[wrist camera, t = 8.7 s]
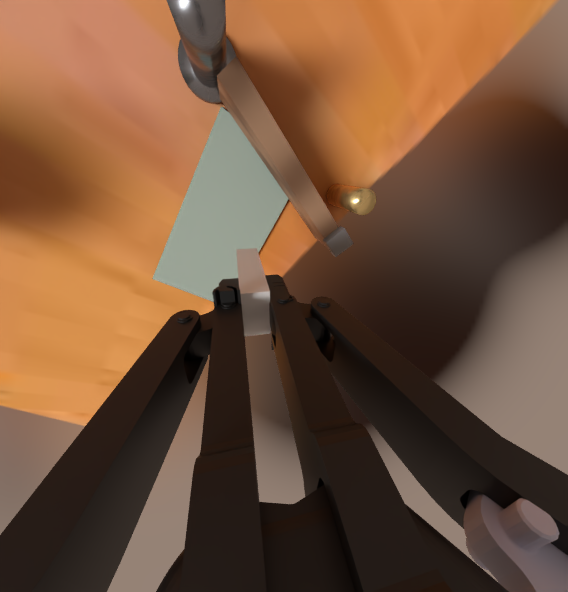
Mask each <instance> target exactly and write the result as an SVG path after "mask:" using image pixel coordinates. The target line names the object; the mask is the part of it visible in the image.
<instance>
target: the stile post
mask: <svg viewBox="0 0 568 592" xmlns="http://www.w3.org/2000/svg"><path fill="white" fill-rule="evenodd" d="M327 201H328V202H329V203H330V204H331V205H334V206H336V207H339V208H342V209H345V210H348V211H350V212H353V213H356V214H359V215H366V214H368V213H370V212H371V211H372V209H373V208H374V206H375V203H376V195H375V193H374V191H372V190H371V189H367V188H360V187H353V186H347V185H340V184H335V185H333V186H331V187H330V188H329V190H328V192H327Z"/></svg>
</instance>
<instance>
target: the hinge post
mask: <svg viewBox="0 0 568 592" xmlns="http://www.w3.org/2000/svg"><path fill="white" fill-rule="evenodd" d="M167 2H168V5H169V8H170V10H171V13H172V16H173V18H174V21H175V24H176V26H177V29H178V32H179V34H180V37H181V39H180V43H179V48H178V61H179V66H180V70H181V73H182V75H183V78H184V80H185V82H186V84H187V85H188V87H189V88H190V89H191V91H192V92H193V93H194V94H195V95H196V96H197V97H198V98H200V99H202V100H203V101H205V102H208V103H213V104H217V103H221V102H222V101H221V100H220V96H219V88H218V81H217V75H218V74H219V73H220V72H221V71H222V70H223V69H224V68H225V67H226V66H227V65H228V64H229V63H230V62H231V61H232V60H233V59H234V58H235V57H236V54H235V51H234V49H233V47H232V45H231V43H230V41H229V40H228V38H227V37H226V15H225V0H167Z"/></svg>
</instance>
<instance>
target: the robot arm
mask: <svg viewBox="0 0 568 592" xmlns="http://www.w3.org/2000/svg"><path fill="white" fill-rule="evenodd" d="M236 253H237V266H238V278H232V279H222V280H221V282H220V283H219V287H216V288H215V289H214V290H213V292H212V294H213V300H214V306H215V308H214V310H213V311H211V312H209V313H206V314H203V315H199V313H198V312H196V311H194V310H184V311H180V312H178V313H176V314H174V315H173V316H171V317H170V319H169V320H168V321H167V322H166V324H165V325H164V326H163V328H162V329H161V330H160V331H159V333H158V334H157V335H156V337H155V338H154V339H153V340H152V342H151V343H150V344H149V345H148V347H147V348H146V349H145V351H144V352H143V353H142V354H141V356H140V357H139V358H138V360H137V361H136V362H135V363H134V365H133V366H132V367H131V369H130V370H129V371H128V372H127V374H126V375H125V376H124V377H123V379H122V380H121V381H120V383H119V384H118V385H117V386H116V388H115V389H114V390H113V392H112V393H111V394H110V395H109V397H108V398H107V399H106V400H105V402H104V403H103V404H102V406H101V407H100V408H99V409H98V411H97V412H96V413H95V415H94V416H93V417H92V418H91V420H90V421H89V422H88V424H87V425H86V426H85V427H84V429H83V430H82V431H81V432H80V434H79V435H78V436H77V438H76V439H75V440H74V441H73V443H72V444H71V445H70V447H69V448H68V449H67V450H66V452H65V453H64V454H63V456H62V457H61V458H60V459H59V461H58V462H57V463H56V464H55V466H54V467H53V468H52V470H51V471H50V472H49V474H48V475H47V476H46V477H45V479H44V480H43V481H42V483H41V484H40V485H39V486H38V488H37V489H36V490H35V491H34V493H33V494H32V495H31V497H30V498H29V499H28V500H27V502H26V503H25V504H24V505H23V507H22V508H21V510H20V511H19V512H18V513H17V514H16V516H15V517H14V518H13V519H12V521H11V522H10V523H9V525H8V526H7V527H6V529H5V530H4V531H3V532H2V534H1V535H0V592H107V590H108V588H109V586H110V583H111V581H112V579H113V577H114V575H115V572H116V570H117V568H118V566H119V564H120V562H121V559H122V557H123V555H124V553H125V550H126V548H127V545H128V543H129V541H130V538H131V536H132V534H133V531H134V529H135V527H136V525H137V522H138V520H139V518H140V515H141V513H142V511H143V508H144V506H145V504H146V501H147V499H148V497H149V494H150V492H151V490H152V487H153V485H154V483H155V480H156V478H157V476H158V473H159V471H160V469H161V466H162V464H163V462H164V459H165V457H166V454H167V452H168V450H169V448H170V445H171V443H172V441H173V439H174V436H175V434H176V431H177V429H178V427H179V424H180V422H181V420H182V418H183V415H184V413H185V411H186V408H187V406H188V403H189V401H190V399H191V397H192V394H193V392H194V389H195V387H196V385H197V382H198V380H199V378H200V375H201V373H202V371H203V369H204V366H205V364H206V362H207V359H208V355H210V360H209V371H208V381H207V392H206V402H205V413H204V423H203V434H202V444H201V452H200V455H199V456H198V457H197V458H196V462H195V465H194V471H193V478H192V488H191V496H190V505H189V513H188V522H187V531H186V541H185V549H184V550H183V551H182V553H181V554H180V555H179V556H178V558H177V559H176V561H175V562H174V563H173V565H172V566H171V568H170V569H169V571H168V572H167V574H166V576H165V577H164V579H163V581H162V582H161V584H160V586H159V587H158V589H157V591H156V592H568V475H567V474H565V473H563V472H562V471H560V470H558V469H556V468H555V467H553V466H551V465H550V464H548V463H546V462H544V461H543V460H541V459H539V458H537V457H535V456H534V455H532V454H530V453H529V452H527V451H525V450H524V449H522V448H520V447H518V446H516V445H515V444H513V443H512V442H510V441H508V440H506V439H505V438H503V437H501V436H500V435H499V434H498V433H496V432H495V431H494V430H493V429H491V428H490V427H489V426H488V425H486V424H485V423H484V422H483V421H482V420H480V419H479V418H478V417H477V416H475V415H474V414H473V413H472V412H470V411H469V410H468V409H467V408H466V407H464V406H463V405H462V404H460V403H459V402H458V401H457V400H456V399H454V398H453V397H452V396H451V395H450V394H448V393H447V392H446V391H445V390H443V389H442V388H441V387H440V386H439V385H437V384H436V383H435V382H434V381H432V380H431V379H430V378H429V377H427V376H426V375H425V374H424V373H423V372H421V371H420V370H419V369H418V368H416V367H415V366H414V365H413V364H412V363H410V362H409V361H408V360H406V359H405V358H404V357H403V356H402V355H400V354H399V353H398V352H397V351H395V350H394V349H393V348H392V347H391V346H389V345H388V344H387V343H386V342H384V341H383V340H382V339H381V338H380V337H378V336H377V335H376V334H375V333H373V332H372V331H371V330H370V329H368V328H367V327H366V326H365V325H363V324H362V323H361V322H360V321H359V320H357V319H356V318H355V317H354V316H352V315H351V314H350V313H349V312H347V311H346V310H345V309H344V308H343V307H341V306H340V305H339V304H338V303H336V302H335V301H334V300H332V299H331V298H327V297H316V298H314V299H313V300H312V301H311V304H304V303H299V302H297V300H296V299H295V297H294V296H291V295H290V294H289V292H288V290H287V287H286V286H285V283H284V281H283V278H282V277H280V276H279V275H265V274H264V270H263V267H262V264H261V261H260V257H259V254H258V251H257V248H253V249H236ZM270 327H271V328H270ZM271 331H272V350H274V352H275V356H276V360H277V365H278V369H279V373H280V378H281V382H282V386H283V390H284V395H285V399H286V404H287V408H288V412H289V417H290V421H291V425H292V430H293V434H294V438H295V443H296V447H297V451H298V455H299V460H300V464H301V469H302V473H303V479H304V490H305V498H303V499H302V500H300V501H299V502H297V503H295V504H278V503H266V502H259V493H258V483H257V471H256V460H255V449H254V438H253V427H252V416H251V405H250V394H249V382H248V370H247V359H246V349H245V337H244V336H253V335H261V334H270V333H271ZM330 372H331V373H332V375H333V376H334V377H335V378H336V379H337V381H338V382H339V383H340V385H341V386H342V387H343V388H344V390H345V391H346V392H347V393H348V395H349V396H350V397H351V398H352V399H353V401H354V402H355V403H356V405H357V406H358V407H359V408H360V410H361V411H362V412H363V413H364V414H365V416H366V417H367V418H368V420H369V421H370V422H371V423H372V425H373V426H374V427H375V428H376V429H377V431H378V432H379V433H380V435H381V436H382V437H383V438H384V439H385V441H386V442H387V443H388V445H389V446H390V447H391V448H392V450H393V451H394V452H395V453H396V455H397V456H398V457H399V458H400V459H401V461H402V462H403V463H404V465H405V466H406V467H407V468H408V470H409V471H410V472H411V473H412V474H413V476H414V477H415V478H416V480H417V481H418V482H419V483H420V484H421V485H422V487H423V488H424V489H425V490H426V491H427V492H428V494H429V495H430V496H431V497H432V498H433V499H434V500H435V501H436V503H437V504H438V505H439V506H441V507H442V509H443V510H444V511H445V512H446V513H447V514H448V515H449V516H450V517H451V518H452V519H453V520H455V521H456V522H457V523H458V524H459V525H460V526H461V527H463V529H464V530H465V534H466V537H467V538H466V546H467V548H468V551H469V553H470V555H471V556H472V558H473V559H474V561H475V562H476V563H477V564H478V565H480V566H481V567H482V568H484V569H486V570H489V571H490V572H491V573H492V574H493V576H494V577H495V578H496V579H497V581H498V582H499V583H498V582H497V581H495V580H494V579H493V578H492V577H491V576H490V575H489V574H487V573H486V572H485V571H484V570H483V569H482V568H480V567H479V566H478V565H477V564H475V563H474V562H473V561H472V560H471V559H470V558H469V557H467V556H466V555H465V554H464V553H463V552H461V551H460V550H459V549H458V548H457V547H455V546H454V545H453V544H452V543H451V542H450V541H448V540H447V539H446V538H445V537H444V536H443V535H441V534H440V533H439V532H438V531H437V530H435V529H434V528H433V527H432V526H431V525H429V524H428V523H427V522H426V521H425V520H424V519H422V518H421V517H420V516H419V515H418V514H416V513H415V512H414V511H413V510H412V509H411V508H409V507H408V506H407V505H406V504H404V501H403V500H402V497H401V495H400V493H399V491H398V490H397V488H396V486H395V484H394V482H393V480H392V478H391V476H390V474H389V472H388V470H387V468H386V466H385V464H384V462H383V460H382V458H381V456H380V454H379V452H378V450H377V448H376V446H375V444H374V442H373V441H372V438H371V436H370V435H369V433H368V431H367V430H366V428H365V427H364V426H363V425H362V424H360V423H355V422H354V421H353V419H352V417H351V415H350V413H349V411H348V409H347V407H346V404H345V402H344V400H343V398H342V396H341V394H340V392H339V390H338V387H337V385H336V383H335V381H334V379H333V377H332V375H331V373H330Z"/></svg>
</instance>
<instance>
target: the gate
mask: <svg viewBox="0 0 568 592" xmlns="http://www.w3.org/2000/svg"><path fill="white" fill-rule="evenodd" d="M217 81H218V88H219V96H220V100H221V101H222V102H223V104H224V105H225V107H226V108H227V110H228V111H229V113H230V114H231V116H232V117H233V119H234V120H235V121H236V123H237V124H238V126H239V127H240V129H241V130H242V132H243V133H244V135H245V136H246V138H247V139H248V140H249V142H250V143H251V145H252V146H253V148H254V149H255V151H256V152H257V154H258V155H259V157H260V158H261V159H262V161H263V162H264V164H265V165H266V167H267V168H268V170H269V171H270V173H271V174H272V175H273V177H274V178H275V180H276V181H277V183H278V184H279V186H280V187H281V189H282V190H283V192H284V193H285V194H286V196H287V197H288V199H289V200H290V202H291V203H292V205H293V206H294V208H295V209H296V211H297V212H298V213H299V215H300V216H301V218H302V219H303V221H304V222H305V224H306V225H307V227H308V228H309V229H310V231H311V232H312V234H313V235H314V237H315V238H316V239H317V240H319V241H320V242H321V243H322V244H323V245H325V246H326V247H327V248H328V249H329V250H330V252H331V253H332V254H333V255H334V256H335V257H337V256H338V255H340V254H341V253H342V252H343V251H345V250H346V249H347V248H348V247H350V246H351V245H352V244H353V241H352V240H351V238H350V236H349V235H348V233H347V231H346V229H345V228H344V227H342V226H339V227H338V225H337V223H336V222H335V220H334V218H333V217H332V215H331V213H330V212H329V210H328V208H327V207H326V205H325V203H324V202H323V200H322V198H321V197H320V195H319V193H318V192H317V190H316V188H315V187H314V185H313V183H312V182H311V180H310V178H309V177H308V175H307V173H306V172H305V170H304V168H303V167H302V165H301V163H300V161H299V160H298V158H297V156H296V155H295V153H294V151H293V150H292V148H291V146H290V145H289V143H288V141H287V140H286V138H285V136H284V135H283V133H282V131H281V130H280V128H279V126H278V125H277V123H276V121H275V120H274V118H273V116H272V115H271V113H270V111H269V110H268V108H267V106H266V105H265V103H264V101H263V100H262V98H261V96H260V95H259V93H258V91H257V90H256V88H255V86H254V85H253V83H252V81H251V80H250V78H249V76H248V75H247V73H246V71H245V70H244V68H243V66H242V65H241V63H240V61H239V59H238V58H237V56H236V57H235V58H234V59H233V60H232V61H231V62H230V63H229V64H228V65H227V66H226V67H225V68H224V69H223V70H222V71H221V72H220V73H219V74H218V75H217Z"/></svg>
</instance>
